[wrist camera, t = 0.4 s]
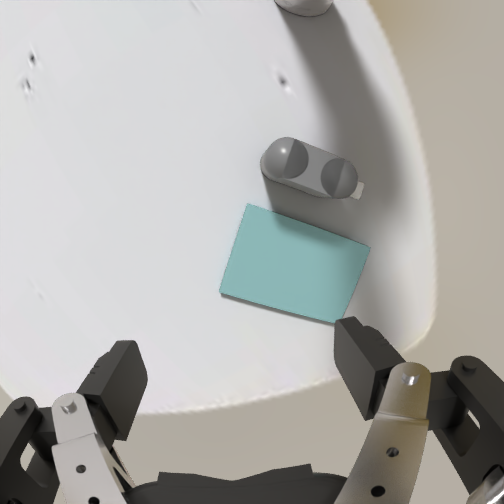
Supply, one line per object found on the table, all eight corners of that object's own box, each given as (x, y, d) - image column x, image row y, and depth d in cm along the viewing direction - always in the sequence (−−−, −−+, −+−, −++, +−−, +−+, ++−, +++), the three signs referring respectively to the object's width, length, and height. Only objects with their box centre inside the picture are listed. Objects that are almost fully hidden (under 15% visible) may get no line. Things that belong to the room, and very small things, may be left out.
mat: (247, 203, 35) (247, 203, 34) (368, 246, 37) (370, 247, 37) (219, 290, 37) (219, 292, 36) (337, 321, 39) (338, 324, 39)
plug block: (266, 142, 33) (274, 131, 27) (350, 176, 35) (375, 173, 28) (255, 174, 34) (261, 170, 27) (340, 206, 36) (363, 210, 29)
